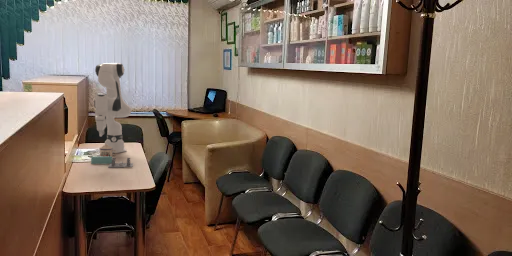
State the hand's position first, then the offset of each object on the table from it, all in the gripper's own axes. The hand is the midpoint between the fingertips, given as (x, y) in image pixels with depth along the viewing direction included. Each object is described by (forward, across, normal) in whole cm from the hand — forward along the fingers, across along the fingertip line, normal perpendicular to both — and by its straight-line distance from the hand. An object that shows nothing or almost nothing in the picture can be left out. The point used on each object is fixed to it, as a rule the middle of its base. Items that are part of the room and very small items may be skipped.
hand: (101, 135), depth 296 cm
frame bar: (+21, 0, 0) cm, 21 cm away
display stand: (+21, +8, +14) cm, 26 cm away
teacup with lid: (+20, -12, +3) cm, 24 cm away
